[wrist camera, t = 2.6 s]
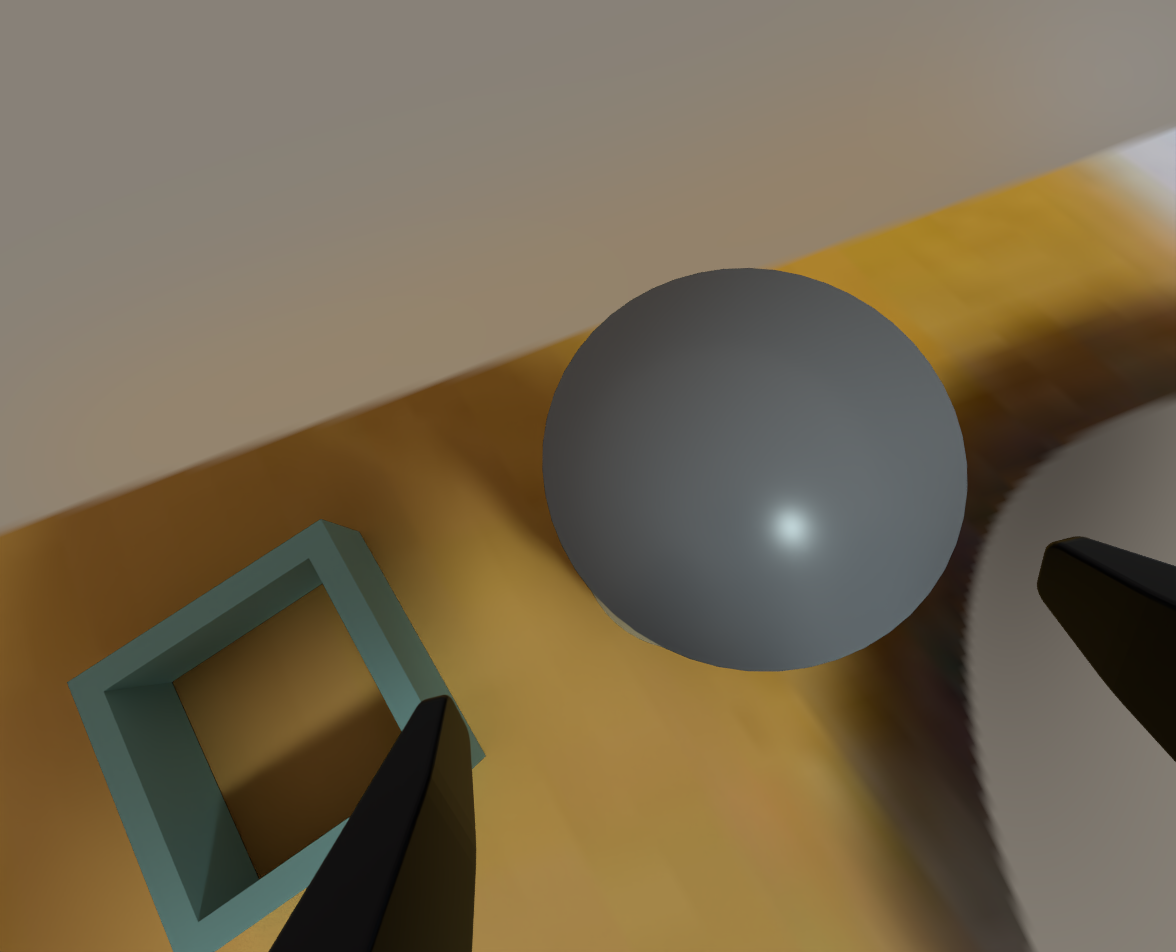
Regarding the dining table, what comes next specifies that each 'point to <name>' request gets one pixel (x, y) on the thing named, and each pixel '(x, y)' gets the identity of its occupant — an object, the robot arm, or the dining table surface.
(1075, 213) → the dining table surface
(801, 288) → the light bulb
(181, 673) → the frame
